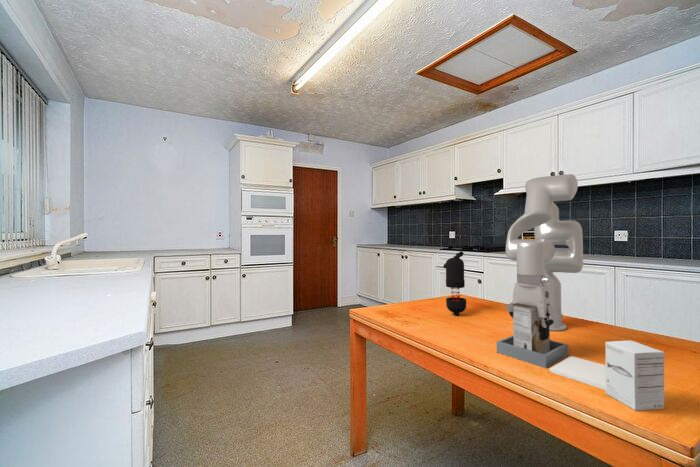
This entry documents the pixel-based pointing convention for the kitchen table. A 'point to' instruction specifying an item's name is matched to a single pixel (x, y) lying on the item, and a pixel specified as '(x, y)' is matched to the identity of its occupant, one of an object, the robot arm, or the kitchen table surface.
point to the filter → (455, 283)
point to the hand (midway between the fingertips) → (531, 335)
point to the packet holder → (543, 360)
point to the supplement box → (635, 374)
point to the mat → (582, 371)
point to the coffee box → (528, 329)
